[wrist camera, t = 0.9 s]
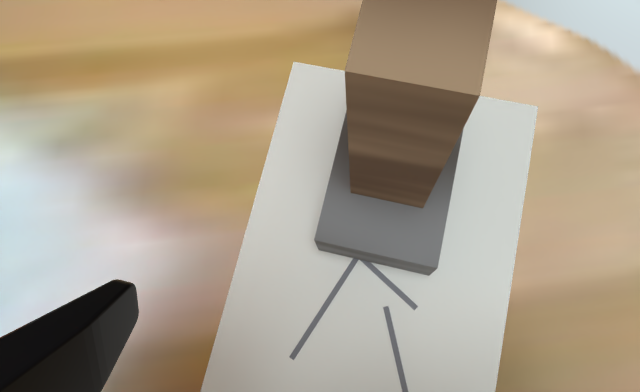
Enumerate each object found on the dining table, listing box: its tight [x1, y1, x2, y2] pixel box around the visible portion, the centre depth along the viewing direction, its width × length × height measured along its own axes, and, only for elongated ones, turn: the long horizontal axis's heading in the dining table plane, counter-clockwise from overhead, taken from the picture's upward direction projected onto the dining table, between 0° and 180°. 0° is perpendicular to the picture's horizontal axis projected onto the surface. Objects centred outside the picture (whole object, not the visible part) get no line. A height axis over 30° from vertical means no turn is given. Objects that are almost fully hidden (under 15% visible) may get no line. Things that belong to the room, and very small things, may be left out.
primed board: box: [200, 62, 538, 392], centre depth 23 cm, size 22×12×2 cm, turn 166°
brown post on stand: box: [314, 0, 497, 276], centre depth 18 cm, size 8×5×12 cm, turn 166°
